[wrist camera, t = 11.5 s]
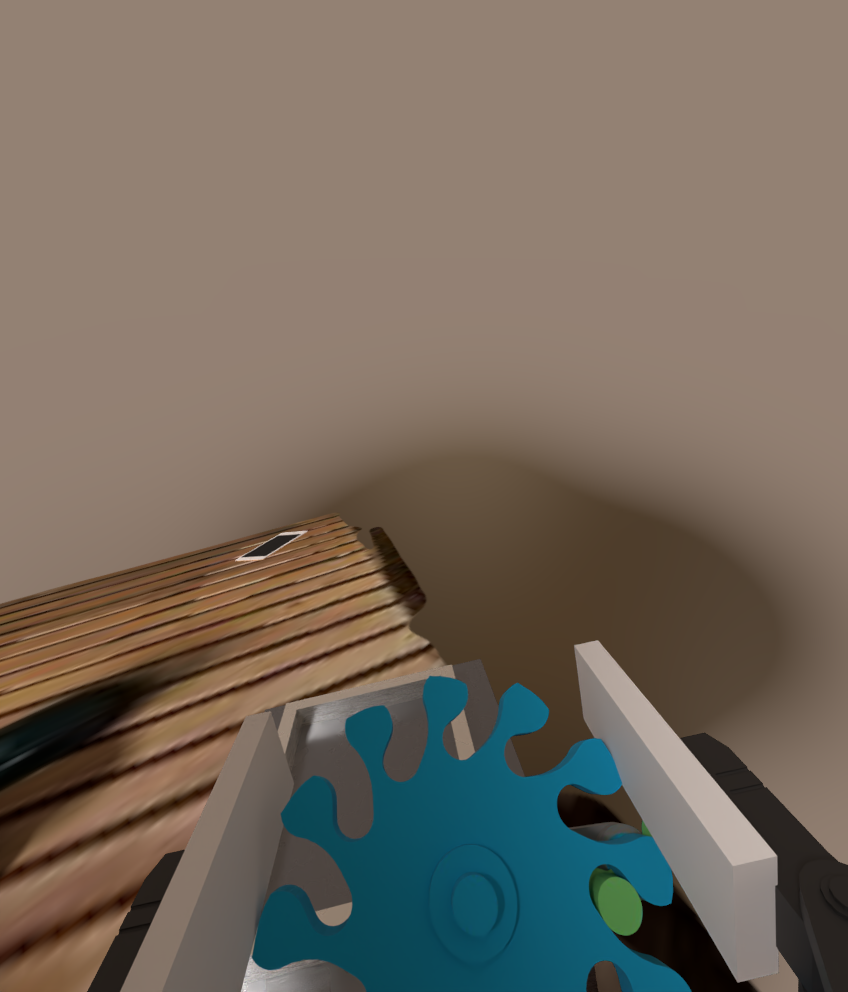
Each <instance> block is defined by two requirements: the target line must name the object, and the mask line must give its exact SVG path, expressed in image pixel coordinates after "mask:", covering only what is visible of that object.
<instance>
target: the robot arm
mask: <svg viewBox="0 0 848 992" xmlns="http://www.w3.org/2000/svg"><path fill="white" fill-rule="evenodd" d="M574 649H575V656H576V664H577V672H578V679H579V687H580V694H581V702H582V709H583V717H584V721H585V722H586V724H587V726H588V728H589V729H590V731H591V733H592V734H593V736H594V738H597V739H601V740H602V741H603V743H604V744H605V746H606V747H607V749H608V750H609V752H610V754H611V755H612V757H613V759H614V762H615V764H616V767H617V770H618V773H619V776H620V778H621V781H622V786H623V787H624V789H625V791H626V792H627V794H628V796H629V798H630V799H631V801H632V803H633V804H634V806H635V808H636V809H637V811H638V813H639V815H640V816H641V818H642V820H643V822H644V823H645V825H646V827H647V828H648V830H649V832H650V834H651V835H652V837H653V839H654V840H655V842H656V844H657V845H658V847H659V849H660V851H661V852H662V854H663V856H664V857H665V859H666V861H667V863H668V864H669V866H670V868H671V869H672V871H673V873H674V875H675V876H676V878H677V880H678V881H679V883H680V885H681V887H682V888H683V890H684V892H685V893H686V895H687V897H688V898H689V900H690V902H691V904H692V905H693V907H694V909H695V910H696V912H697V914H698V916H699V917H700V919H701V921H702V922H703V924H704V926H705V928H706V929H707V931H708V933H709V934H710V936H711V938H712V940H713V941H714V943H715V945H716V946H717V948H718V950H719V951H720V953H721V955H722V957H723V958H724V960H725V962H726V963H727V965H728V967H729V969H730V970H731V972H732V974H733V975H734V977H735V979H736V981H737V982H742V981H747V980H751V979H755V978H759V977H764V976H768V975H772V974H777V973H779V963H778V962H779V961H778V950H779V951H780V953H781V954H782V956H783V957H784V959H785V960H786V962H787V963H788V964H789V966H790V967H791V969H792V970H793V972H794V973H795V974H796V976H797V977H798V979H799V984H798V986H799V987H798V992H848V865H846V864H843V863H840V862H838V861H837V860H836V859H835V858H834V857H833V856H832V855H830V853H828V852H827V851H826V850H825V849H824V847H823V846H822V845H821V844H819V842H818V841H817V840H816V839H815V838H814V837H813V836H812V835H811V834H810V833H809V832H808V831H807V830H806V828H805V827H804V826H803V825H802V824H801V823H800V822H799V821H798V820H797V819H796V818H795V817H794V816H793V815H792V814H791V813H790V812H789V811H788V810H787V809H786V808H785V806H784V805H783V804H782V803H781V802H780V801H779V800H778V799H777V798H776V797H775V796H774V795H773V794H772V793H771V792H770V791H769V790H768V788H767V787H766V788H765V787H764V786H763V783H762V782H761V781H760V780H759V779H758V778H757V777H756V776H755V775H754V774H753V773H752V772H751V771H749V770H748V769H747V766H746V765H745V764H744V763H743V762H742V761H741V760H740V759H739V758H738V757H737V756H736V755H735V754H734V753H733V752H732V751H731V750H730V749H729V747H727V746H725V745H724V744H722V743H720V742H719V741H717V740H716V739H714V738H712V737H711V736H709V735H708V734H706V733H701V734H697V735H692V736H687V737H683V738H679V737H678V736H677V735H676V734H675V733H674V731H673V730H672V729H671V728H670V726H669V725H668V724H667V723H666V722H665V720H664V719H663V718H662V717H661V715H659V713H658V712H657V711H656V710H655V708H654V707H653V706H652V705H651V703H650V702H649V701H648V700H647V699H646V698H645V696H644V695H643V694H642V693H641V691H640V690H639V689H638V688H637V687H636V685H635V684H634V683H633V682H632V681H631V679H630V678H629V677H628V676H627V675H626V673H625V672H624V671H623V670H622V669H621V667H620V666H619V665H618V664H617V663H616V661H615V660H614V659H613V658H612V657H611V656H610V654H609V653H608V652H607V651H606V649H605V648H604V647H603V646H602V645H601V643H600V642H599V641H598V640H597V641H592V642H587V643H583V644H578V645H574ZM293 786H294V781H293V778H292V775H291V772H290V769H289V766H288V763H287V759H286V756H285V753H284V750H283V747H282V744H281V741H280V738H279V735H278V732H277V729H276V726H275V723H274V719H273V716H272V713H271V711H269V712H264V713H260V714H255V715H251V716H246V718H245V720H244V722H243V724H242V727H241V729H240V731H239V733H238V735H237V738H236V740H235V742H234V744H233V746H232V748H231V751H230V753H229V755H228V757H227V759H226V762H225V764H224V766H223V768H222V770H221V772H220V775H219V777H218V779H217V781H216V783H215V786H214V788H213V790H212V792H211V794H210V796H209V799H208V801H207V803H206V805H205V807H204V810H203V812H202V814H201V816H200V818H199V820H198V823H197V825H196V827H195V829H194V831H193V834H192V836H191V838H190V840H189V842H188V844H187V847H186V849H185V850H181V851H177V852H172V853H168V854H165V855H164V857H163V858H162V859H161V860H160V861H159V863H158V864H157V865H156V866H155V868H154V869H153V870H152V871H151V872H150V874H149V875H148V876H147V877H146V879H145V880H144V882H143V884H142V886H141V888H140V890H139V892H138V894H137V896H136V898H135V900H134V902H133V904H132V906H131V911H130V912H128V913H127V915H126V917H125V919H124V921H123V923H122V925H121V927H120V929H119V934H118V935H117V936H116V937H115V939H114V941H113V943H112V945H111V946H110V948H109V950H108V952H107V954H106V956H105V958H104V960H103V962H102V964H101V966H100V968H99V970H98V972H97V974H96V976H95V978H94V980H93V982H92V984H91V985H90V987H89V989H88V991H87V992H241V990H242V986H243V982H244V978H245V974H246V970H247V966H248V962H249V958H250V954H251V951H252V947H253V943H254V939H255V935H256V931H257V927H258V923H259V919H260V915H261V911H262V908H263V904H264V900H265V896H266V892H267V888H268V884H269V880H270V876H271V872H272V868H273V864H274V861H275V857H276V853H277V849H278V845H279V841H280V837H281V833H282V829H283V825H284V824H283V822H282V819H281V812H282V811H283V809H284V808H285V806H286V805H287V803H288V802H289V800H290V798H291V794H292V790H293Z"/></svg>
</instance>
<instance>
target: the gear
mask: <svg viewBox="0 0 848 992" xmlns="http://www.w3.org/2000/svg"><path fill="white" fill-rule="evenodd" d="M422 698H423V705H424V708H425V711H426V715H427V721H428V736H427V744H426V747H425V751H424V754H423V757H422V760H421V762H420V765H419V768H418V770H417V772H416V774H415V775H414V776H413V777H412V778H411V779H409V780H407V781H405V782H398V781H395V780H393V779H391V778H390V777H389V776H388V775H387V773H386V771H385V769H384V763H383V760H384V755H385V751H386V749H387V747H388V744H389V742H390V740H391V737H392V733H393V722H392V719H391V715H390V713H389V711H388V709H387V708H386V707H385V706H384V705H380V706H373V707H369V708H366V709H364V710H362V711H360V712H358V713H356V714H354V715H352V716H350V717H349V718H347V719H346V723H345V733H346V737H347V740H348V741H349V743H350V745H351V746H352V747H353V748H354V749H355V750H356V751H357V752H358V754H359V755H360V757H361V758H362V760H363V761H364V763H365V766H366V768H367V770H368V773H369V777H370V780H371V785H372V794H373V813H374V815H373V823H372V826H371V828H370V830H369V832H368V833H367V834H366V835H365V836H363V837H361V838H357V839H352V838H349V837H347V836H345V835H344V834H343V833H342V832H341V830H340V828H339V826H338V821H337V796H336V792H335V789H334V787H333V785H332V784H331V783H330V781H329V780H327V779H326V778H324V777H321V776H315V775H313V776H312V777H311V778H309V779H308V780H306V781H305V782H304V783H303V784H302V785H301V786H300V787H299V788H298V789H297V791H296V792H295V793H294V795H293V796H292V797H291V799H290V800H289V802H288V803H287V805H286V806H285V808H284V809H283V811H282V812H281V819H282V822H283V824H284V827H285V828H286V829H287V831H288V832H289V833H290V834H292V835H294V836H296V837H300V838H304V839H307V840H310V841H312V842H314V843H316V844H317V845H319V846H320V847H321V848H323V849H324V850H325V851H326V852H327V853H328V854H329V855H330V856H331V857H332V858H333V860H334V861H335V863H336V864H337V866H338V868H339V869H340V871H341V873H342V875H343V877H344V879H345V881H346V883H347V885H348V887H349V889H350V892H351V896H352V910H351V914H350V916H349V917H348V919H346V920H345V921H344V922H343V923H341V924H340V925H336V926H328V925H326V924H324V923H323V922H322V921H321V920H320V919H319V918H318V916H317V914H316V912H315V910H314V908H313V906H312V903H311V901H310V899H309V897H308V895H307V894H306V892H305V891H304V890H303V889H302V888H300V887H298V886H296V885H291V884H290V885H283V886H281V887H279V888H277V889H276V890H275V891H274V892H272V893H271V894H270V896H269V898H268V900H267V902H266V904H265V906H264V909H263V911H262V914H261V917H260V920H259V924H258V928H257V932H256V937H255V943H254V948H253V954H252V959H253V961H254V962H255V963H256V964H257V965H258V966H259V967H261V968H263V969H266V970H277V969H280V968H282V967H284V966H286V965H288V964H290V963H293V962H297V961H301V960H322V961H326V962H330V963H332V964H334V965H336V966H338V967H340V968H342V969H344V970H345V971H347V972H348V973H350V974H352V975H353V976H355V977H356V978H357V979H359V980H360V981H361V982H362V984H363V985H364V987H365V989H366V992H587V991H586V986H587V978H588V974H589V972H590V970H591V968H592V967H593V966H594V965H595V964H596V963H598V962H600V961H605V960H606V961H611V962H612V963H613V965H614V967H615V968H616V971H617V974H618V978H619V982H620V986H621V990H622V992H691V990H690V988H689V986H688V985H687V983H686V982H685V981H684V979H683V978H682V977H681V976H680V975H679V974H677V973H676V972H675V971H674V970H672V969H671V968H670V967H668V966H667V965H665V964H664V963H663V962H661V961H660V960H658V959H657V958H655V957H653V956H651V955H647V954H643V953H639V952H637V951H635V950H632V949H630V948H628V947H626V946H625V945H624V944H623V943H622V942H621V941H620V940H619V939H618V938H617V937H616V936H615V934H614V933H613V932H612V931H614V932H616V933H617V934H620V935H631V934H633V933H634V932H636V931H637V930H638V928H639V927H640V924H641V922H642V915H643V911H642V904H641V900H645V901H647V902H649V903H652V904H654V905H658V906H665V905H668V904H671V903H672V895H673V877H672V870H671V868H670V866H669V864H668V863H667V861H666V859H665V857H664V856H663V854H662V852H661V851H660V849H659V847H658V845H657V844H656V842H655V840H654V839H653V837H652V835H651V834H650V832H649V830H648V828H647V827H646V825H645V823H644V822H643V821H642V833H641V832H640V831H639V830H638V829H636V828H634V827H632V826H630V825H627V824H622V823H616V822H606V823H599V824H592V825H585V826H578V827H571V828H568V827H567V826H566V825H565V824H564V823H563V821H562V820H561V818H560V816H559V813H558V809H557V798H558V795H559V793H560V791H561V790H562V789H563V787H565V786H566V785H572V786H574V787H576V788H578V789H580V790H582V791H584V792H586V793H589V794H599V795H609V794H612V793H614V792H616V791H617V790H618V789H619V788H620V787H621V785H622V781H621V778H620V776H619V773H618V770H617V767H616V764H615V762H614V759H613V757H612V755H611V754H610V752H609V750H608V749H607V747H606V746H605V744H604V743H603V741H602V740H601V739H597V738H593V739H587V740H583V741H579V742H577V743H576V744H574V745H573V746H572V747H571V748H570V750H569V752H568V753H567V755H566V757H565V758H564V759H563V760H562V761H561V762H560V763H559V764H558V765H557V766H556V767H554V768H553V769H551V770H550V771H547V772H545V773H543V774H539V775H535V776H528V777H521V776H518V775H516V774H515V773H513V772H512V771H511V770H510V768H509V767H508V765H507V763H506V761H505V756H504V749H505V745H506V743H507V741H508V740H509V739H510V737H512V736H518V735H525V734H530V733H532V732H534V731H537V730H539V729H540V728H542V727H543V726H544V725H545V723H546V721H547V719H548V716H549V709H548V708H547V707H546V705H545V704H544V702H543V701H542V700H541V699H540V698H539V697H538V696H536V695H535V694H534V693H533V692H531V691H530V690H528V689H527V688H525V687H524V686H522V685H520V684H519V683H517V684H514V685H512V686H511V687H510V688H509V689H508V690H507V691H506V692H505V693H504V694H503V695H502V697H501V699H500V702H499V708H498V716H497V720H496V724H495V726H494V728H493V731H492V733H491V735H490V736H489V738H488V739H487V741H486V742H485V743H484V744H483V745H482V746H481V747H480V748H479V749H478V750H477V751H476V752H475V753H474V754H473V755H472V756H470V757H469V758H468V759H466V760H458V759H455V758H453V757H452V756H450V755H449V754H448V752H447V751H446V749H445V747H444V745H443V732H444V729H445V727H446V726H447V725H448V724H449V723H450V722H451V721H453V720H454V719H455V718H456V717H457V716H458V715H459V714H460V713H461V712H462V710H463V709H464V707H465V706H466V703H467V700H468V689H467V685H466V684H465V683H464V682H462V681H460V680H457V679H454V678H450V677H443V676H429V677H428V679H427V680H426V682H425V685H424V689H423V696H422ZM611 930H612V931H611Z"/></svg>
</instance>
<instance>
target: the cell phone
mask: <svg viewBox="0 0 848 992" xmlns="http://www.w3.org/2000/svg"><path fill="white" fill-rule="evenodd" d="M307 532H308V531H298V532H285V533H281V534H279V535H277V536H276V537H274V538H272V539H271V540H269V541H267V542H265V543H264V544H262V545H260V546H258V547H257V548H255V549H253V550H252V551H250V552H248V553H246V554H245V555H243V556H241V557H239V558H238V559H236V561H253V560H264V559H266V558H267V557H269V556H270V555H272V554H274V553H275V552H277V551H278V550H280V549H282V548H283V547H285V546H286V545H288V544H290V543H291V542H293V541H294V540H296V539H297V538H299V537H301V536H302V535H304V534H305V533H307Z"/></svg>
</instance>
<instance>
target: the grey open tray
mask: <svg viewBox="0 0 848 992" xmlns="http://www.w3.org/2000/svg"><path fill="white" fill-rule="evenodd" d="M429 676H443V677H450V678H454V679H457V680H460V681H462V682H464V683H465V684H466V685H467V689H468V700H467V703H466V706H465V707H464V709H463V710H462V712H461V713H460V714H459V715H458V716H457V717H456V718H455V719H454V720H453V721H451V722H450V723H449V724H448V725H447V726H446V727H445V729H444V732H443V745H444V747H445V749H446V751H447V752H448V754H449V755H450V756H452V757H453V758H455V759H458V760H466V759H468V758H469V757H470V756H472V755H473V754H474V753H475V752H476V751H477V750H478V749H479V748H480V747H481V746H482V745H483V744H484V743H485V742H486V741H487V739H488V738H489V736H490V735H491V733H492V731H493V728H494V726H495V724H496V720H497V716H498V708H499V706H498V704H497V701H496V699H495V696H494V693H493V691H492V688H491V686H490V683H489V680H488V677H487V675H486V672H485V670H484V667H483V664H482V662H481V659H478V660H474V661H470V662H466V663H461V664H457V665H453V666H452V665H448V666H443V667H439V668H435V669H431V670H427V671H422V672H418V673H414V674H410V675H405V676H401V677H397V678H393V679H389V680H384V681H380V682H376V683H372V684H367V685H363V686H359V687H355V688H351V689H346V690H342V691H338V692H334V693H329V694H325V695H321V696H317V697H313V698H308V699H304V700H300V701H296V702H291V703H287V704H286V705H284V706H280V707H275V708H271V709H267V710H265V712H269V711H271V713H272V716H273V719H274V723H275V726H276V729H277V732H278V735H279V738H280V741H281V744H282V747H283V750H284V753H285V756H286V759H287V763H288V766H289V769H290V772H291V775H292V778H293V781H294V786H293V790H292V794H291V797H292V796H293V795H294V793H295V792H296V791H297V789H298V788H299V787H300V786H301V785H302V784H303V783H304V782H305V781H306V780H308V779H309V778H311V777H312V776H313V775H315V776H321V777H324V778H326V779H327V780H329V781H330V783H331V784H332V785H333V787H334V789H335V792H336V796H337V821H338V826H339V828H340V830H341V832H342V833H343V834H344V835H345V836H347V837H349V838H352V839H357V838H361V837H363V836H365V835H366V834H367V833H368V832H369V830H370V828H371V826H372V823H373V815H374V813H373V794H372V785H371V780H370V777H369V773H368V770H367V768H366V766H365V763H364V761H363V760H362V758H361V757H360V755H359V754H358V752H357V751H356V750H355V749H354V748H353V747H352V746H351V745H350V743H349V741H348V740H347V737H346V733H345V723H346V719H347V718H349V717H350V716H352V715H354V714H356V713H358V712H360V711H362V710H364V709H366V708H369V707H373V706H380V705H384V706H385V707H386V708H387V709H388V711H389V713H390V715H391V719H392V722H393V733H392V737H391V740H390V742H389V744H388V747H387V749H386V751H385V755H384V760H383V763H384V769H385V771H386V773H387V775H388V776H389V777H390V778H391V779H393V780H395V781H398V782H405V781H407V780H409V779H411V778H412V777H413V776H414V775H415V774H416V772H417V770H418V768H419V765H420V762H421V760H422V757H423V754H424V751H425V747H426V744H427V736H428V721H427V715H426V711H425V708H424V705H423V698H422V696H423V689H424V685H425V682H426V680H427V679H428V677H429ZM504 756H505V761H506V763H507V765H508V767H509V768H510V770H511V771H512V772H513V773H515V774H516V775H518V776H521V777H525V775H524V772H523V769H522V767H521V764H520V762H519V759H518V756H517V754H516V751H515V748H514V746H513V743H512V741H511V738H510V739H509V740H508V741H507V743H506V745H505V749H504ZM290 799H291V798H290ZM290 884H291V885H296V886H298V887H300V888H302V889H303V890H304V891H305V892H306V894H307V895H308V897H309V899H310V901H311V903H312V906H313V908H314V910H315V912H316V914H317V916H318V918H319V919H320V920H321V921H322V922H323V923H324V924H326V925H328V926H336V925H340V924H341V923H343V922H344V921H345V920H346V919H348V917H349V916H350V914H351V910H352V896H351V892H350V889H349V887H348V885H347V883H346V881H345V879H344V877H343V875H342V873H341V871H340V869H339V868H338V866H337V864H336V863H335V861H334V860H333V858H332V857H331V856H330V855H329V854H328V853H327V852H326V851H325V850H324V849H323V848H321V847H320V846H319V845H317V844H316V843H314V842H312V841H310V840H307V839H304V838H300V837H296V836H294V835H292V834H290V833H289V832H288V831H287V829H286V828H285V827H284V825H283V829H282V833H281V837H280V841H279V845H278V849H277V853H276V857H275V861H274V864H273V868H272V872H271V876H270V880H269V884H268V888H267V892H266V896H265V900H264V904H263V908H262V911H263V909H264V906H265V904H266V902H267V900H268V898H269V896H270V894H271V893H272V892H274V891H275V890H276V889H277V888H279V887H281V886H283V885H290ZM262 911H261V914H262ZM260 917H261V915H260ZM259 920H260V919H259ZM258 924H259V923H258ZM257 928H258V927H257ZM256 932H257V931H256ZM255 937H256V935H255ZM254 943H255V939H254ZM254 943H253V947H252V951H251V954H250V958H249V962H248V966H247V970H246V974H245V978H244V982H243V986H242V990H241V992H366V989H365V987H364V985H363V984H362V982H361V981H360V980H359V979H357V978H356V977H355V976H353V975H352V974H350V973H348V972H347V971H345V970H344V969H342V968H340V967H338V966H336V965H334V964H332V963H330V962H326V961H322V960H301V961H297V962H293V963H290V964H288V965H286V966H284V967H282V968H280V969H277V970H266V969H263V968H261V967H259V966H258V965H257V964H256V963H255V962H254V961H253V959H252V954H253V948H254ZM586 991H587V992H598V988H597V981H596V975H595V968H594V966H593V967H592V968H591V970H590V972H589V974H588V978H587V986H586Z"/></svg>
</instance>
